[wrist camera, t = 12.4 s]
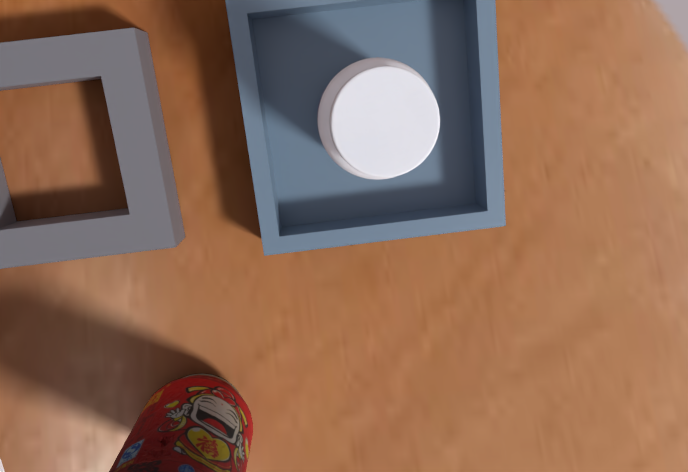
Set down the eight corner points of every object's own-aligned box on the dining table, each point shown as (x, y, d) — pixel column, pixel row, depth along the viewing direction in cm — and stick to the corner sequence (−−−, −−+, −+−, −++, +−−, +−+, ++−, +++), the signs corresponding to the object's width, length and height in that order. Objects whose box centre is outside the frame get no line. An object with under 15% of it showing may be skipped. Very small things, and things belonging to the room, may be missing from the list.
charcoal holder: (-11, 260, 35) (-35, 272, 33) (-67, 56, 32) (-98, 53, 30) (185, 236, 35) (175, 247, 33) (147, 32, 33) (133, 27, 30)
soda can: (273, 388, 38) (253, 521, 26) (230, 473, 40) (192, 636, 28) (173, 346, 37) (105, 465, 25) (133, 434, 39) (50, 587, 27)
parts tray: (268, 242, 36) (264, 255, 33) (232, 4, 32) (224, -6, 30) (490, 215, 36) (505, 225, 33) (477, -24, 33) (493, -36, 30)
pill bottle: (430, 90, 34) (477, 89, 24) (388, 179, 35) (417, 212, 25) (340, 47, 33) (352, 28, 23) (300, 140, 34) (296, 158, 24)
